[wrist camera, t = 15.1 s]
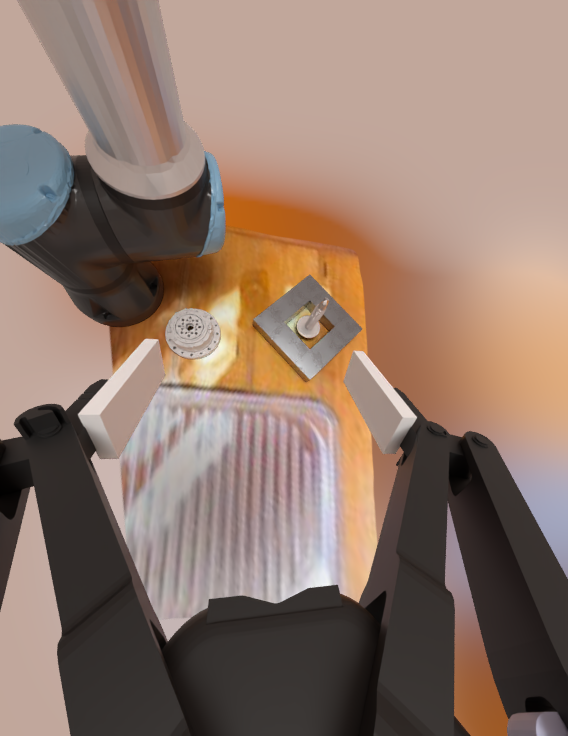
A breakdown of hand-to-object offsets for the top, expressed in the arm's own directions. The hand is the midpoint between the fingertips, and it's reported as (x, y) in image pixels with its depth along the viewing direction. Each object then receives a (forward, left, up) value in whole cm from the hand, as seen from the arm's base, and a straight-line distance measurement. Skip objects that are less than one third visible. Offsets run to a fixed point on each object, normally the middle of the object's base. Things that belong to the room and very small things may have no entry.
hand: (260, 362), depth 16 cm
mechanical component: (-17, 0, -30) cm, 34 cm away
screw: (-3, +18, -29) cm, 35 cm away
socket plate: (-3, +18, -29) cm, 34 cm away
